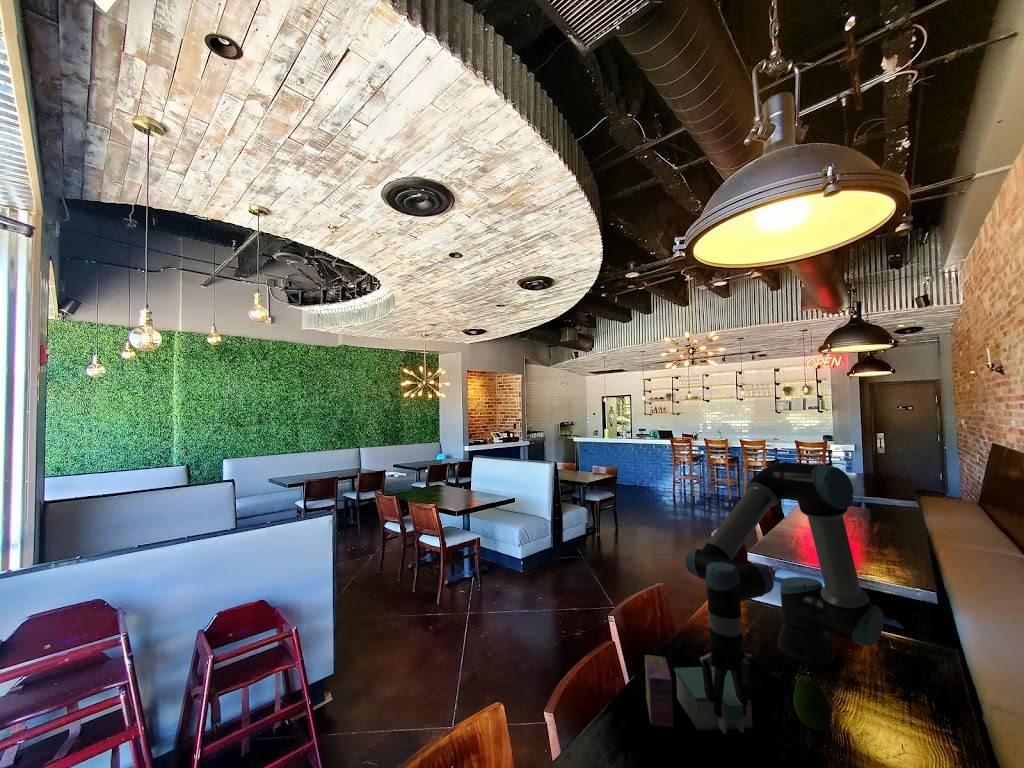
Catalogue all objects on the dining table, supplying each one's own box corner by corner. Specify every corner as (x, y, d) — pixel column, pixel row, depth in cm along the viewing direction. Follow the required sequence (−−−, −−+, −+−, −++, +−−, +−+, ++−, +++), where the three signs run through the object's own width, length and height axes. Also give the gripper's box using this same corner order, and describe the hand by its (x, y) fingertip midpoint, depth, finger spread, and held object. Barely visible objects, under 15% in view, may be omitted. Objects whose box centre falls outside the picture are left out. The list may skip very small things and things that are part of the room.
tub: (726, 696, 118) (725, 670, 118) (752, 728, 106) (750, 698, 106) (677, 698, 117) (676, 672, 118) (697, 730, 105) (696, 701, 106)
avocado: (790, 713, 110) (787, 666, 111) (826, 720, 108) (822, 671, 109) (800, 735, 103) (796, 684, 104) (838, 743, 100) (834, 690, 101)
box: (674, 728, 106) (672, 679, 107) (650, 725, 107) (648, 677, 108) (667, 700, 116) (665, 656, 117) (646, 698, 118) (644, 654, 119)
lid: (725, 673, 119) (725, 662, 119) (765, 717, 101) (764, 704, 101) (674, 675, 118) (674, 664, 118) (705, 720, 100) (705, 707, 101)
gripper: (748, 620, 109) (754, 716, 107) (685, 623, 108) (690, 719, 106) (767, 635, 101) (774, 739, 99) (699, 638, 101) (705, 742, 99)
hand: (731, 728), depth 103 cm, fingers closed on lid, 3 cm apart
